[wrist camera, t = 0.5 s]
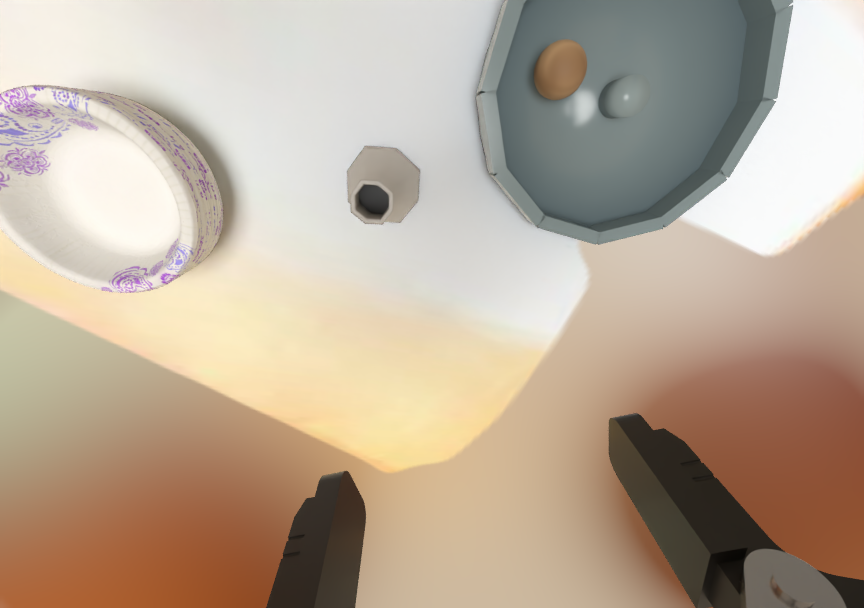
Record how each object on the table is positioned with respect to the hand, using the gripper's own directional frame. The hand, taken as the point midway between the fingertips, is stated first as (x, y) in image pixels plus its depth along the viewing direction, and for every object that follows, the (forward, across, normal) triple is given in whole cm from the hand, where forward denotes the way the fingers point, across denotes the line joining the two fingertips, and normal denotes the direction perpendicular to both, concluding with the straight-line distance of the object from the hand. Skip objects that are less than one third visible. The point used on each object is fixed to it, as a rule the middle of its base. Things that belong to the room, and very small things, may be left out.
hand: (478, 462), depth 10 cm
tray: (+28, -18, -8) cm, 34 cm away
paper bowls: (+28, +25, -10) cm, 39 cm away
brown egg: (+27, -13, -11) cm, 32 cm away
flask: (+28, +4, -6) cm, 29 cm away
